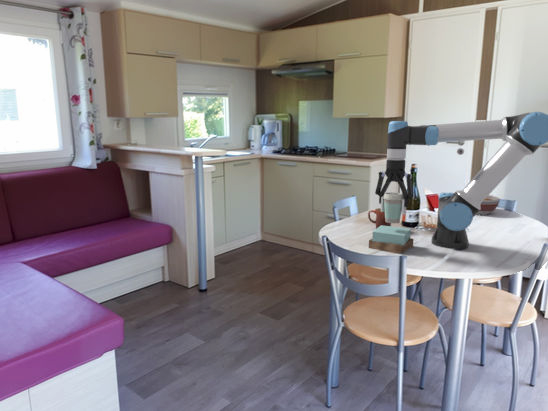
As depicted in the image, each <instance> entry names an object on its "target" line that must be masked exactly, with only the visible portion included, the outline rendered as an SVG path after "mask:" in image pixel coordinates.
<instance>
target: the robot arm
mask: <svg viewBox="0 0 548 411" xmlns="http://www.w3.org/2000/svg"><path fill="white" fill-rule="evenodd" d="M499 139H500V140H502V141H503V142H504V143H503V144H502V145H501V147H500V148H499V149H498V150H497V151H496V152H495V153H494V155H492V157H491V158H490V159H489V160H488V161H487V162H486V163H485V164H484V166H482V168H481V169H479V171H478V172H477V173H476V174H475V175H474V176H473V178H472V179H471V180H470V181H469V182H468V183H467V184H466V185H465V187H464V188H463V189H461V190H456V191H455V192H440V193H439V195H438V198H437V199H438V204H437V205H438V207H437V220H436V227H435V228H434V232H433V234H432V236H431V244H432V245H433V246H436V247H440V248H444V249H451V250H452V249H453V250H462V249H467V248H469V239H468V234H467V230H466V229H467V228H469V226H470V225H471V224H472V222H473V219H474V217H475V216H476V214H477V213H478V212H479V211H480V210H481V207H480V204H481V203H482V202H483V200H484V199H485V198H486V197H487V196H488V195H490V194H491V193H492V192H493V191H494V190H495V189H496V188H497V187H498V186H499V184H501V182H502V181H503V180H504V179H505V178H506V177H507V176H508V175H509V174H511V172H512V171H513V169H515V167H516V166H517V165H519V163H520V162H521V161H522V160H523V159H524V158H525V157H526V156H530V155H533V154H534V153H535V152H536V151H537V150H538V149H539V148H540V147H541V146H543V145H545V144H546V143H548V114H546V113H544V112H541V111H533V112H526V113H521V114H517V115H511V116H503V118H501V119H495V120H493V119H492V120H483V121H481V120H480V121H469V122H467V121H466V122H454V123H440V124H429V125H428V124H426V125H425V124H424V125H422V124H421V125H416V126H415V125H413V126H412V125H409V124H408V121H407V120H391V121H389V123H388V131H387V144H386V145H387V147H386V148H387V149H386V162H385V163H386V166H385V168H386V169H385V170H384V171H379V172H378V181H377V184H376V188H375V192H374V194H375V195H377V196H379V197H378V198H379V199H378V200H379V201H378V203H379V204H380V208H381V212H384V211H385V207H384V195H385V193H387V190H388V188H389V186H390V184H391V183H392V182H395V183H397V184H398V185H399V188H400V191H401V193H402V194H403V196H404V199H402V211H401V216H405V215H406V214H407V213H406V212H407V208H408V207H409V200H410V199H412V198H414V196H415V195H414V189H413V181H412V178H413V174H412V173H407V172H406V156H407V155H406V154H407V153H406V152H407V145H409V146H412V145H413V146H436V145H438V143H449V142H467V141H481V140H482V141H483V140H499ZM385 176H386V180H385V183H384V179H385ZM404 177H405V179H406V185H405V180H404ZM383 183H384V184H383ZM406 186H407V187H406Z"/></svg>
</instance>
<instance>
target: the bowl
mask: <svg viewBox="0 0 548 411" xmlns="http://www.w3.org/2000/svg"><path fill="white" fill-rule="evenodd" d="M500 199H501V198H499V197H498V196H495V195H490V194H489V195H488V196H487V197H486V198H485V199H484V200H483V202H482V203H481V204H480V207H481V210H480V211H479V212H478V213H477V214H487V215H490V214H492V213H493V212H494V211H495V210H496V208H497V207H498V206H499V203H500V201H501V200H500Z"/></svg>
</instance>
